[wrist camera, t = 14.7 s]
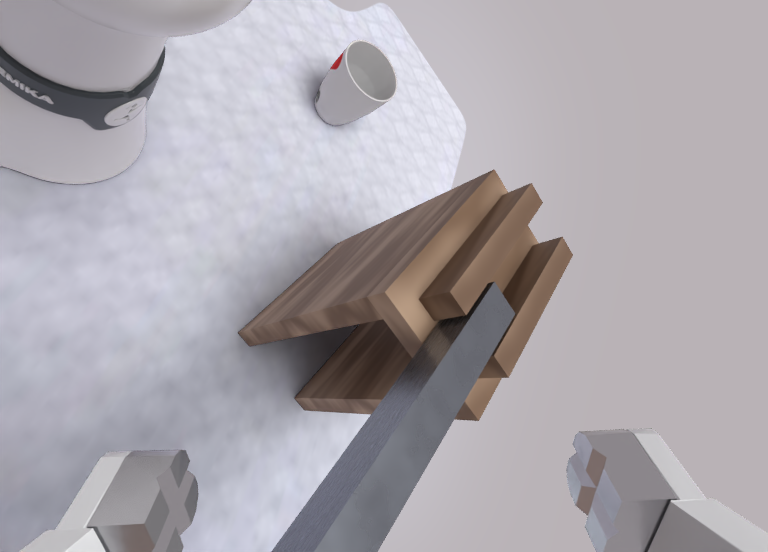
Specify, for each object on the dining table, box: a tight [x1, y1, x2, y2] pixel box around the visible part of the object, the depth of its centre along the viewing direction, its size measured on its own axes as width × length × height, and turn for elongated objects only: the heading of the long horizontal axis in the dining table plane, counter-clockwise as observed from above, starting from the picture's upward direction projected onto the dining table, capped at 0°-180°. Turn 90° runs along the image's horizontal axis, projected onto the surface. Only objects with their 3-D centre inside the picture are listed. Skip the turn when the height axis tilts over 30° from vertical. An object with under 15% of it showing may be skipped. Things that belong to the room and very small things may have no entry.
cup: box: [315, 40, 397, 126], centre depth 60 cm, size 8×8×10 cm
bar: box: [272, 282, 515, 552], centre depth 25 cm, size 3×26×3 cm, turn 135°
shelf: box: [238, 170, 573, 421], centre depth 45 cm, size 12×18×29 cm, turn 135°
